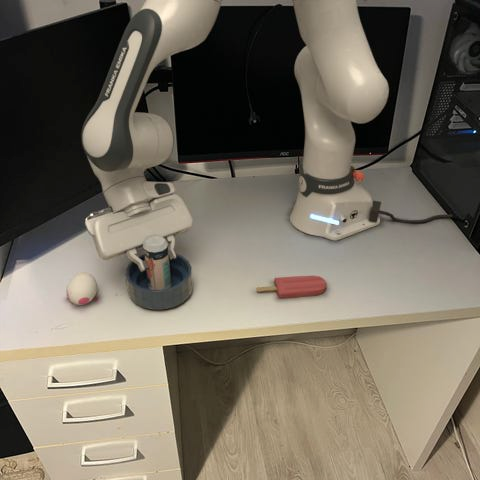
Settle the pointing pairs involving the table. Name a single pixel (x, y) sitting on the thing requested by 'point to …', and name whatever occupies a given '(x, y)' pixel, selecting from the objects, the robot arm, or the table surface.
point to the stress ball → (81, 288)
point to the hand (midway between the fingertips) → (159, 264)
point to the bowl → (164, 297)
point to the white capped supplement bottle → (157, 262)
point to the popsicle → (297, 286)
